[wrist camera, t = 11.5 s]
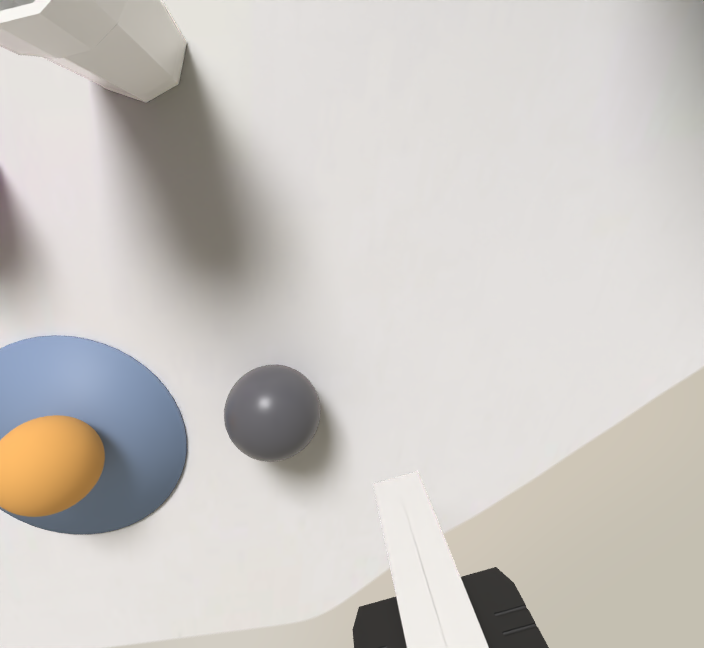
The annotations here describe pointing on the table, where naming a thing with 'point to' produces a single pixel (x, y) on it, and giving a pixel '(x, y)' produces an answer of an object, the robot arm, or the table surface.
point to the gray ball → (272, 413)
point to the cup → (100, 41)
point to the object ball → (48, 465)
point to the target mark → (98, 425)
